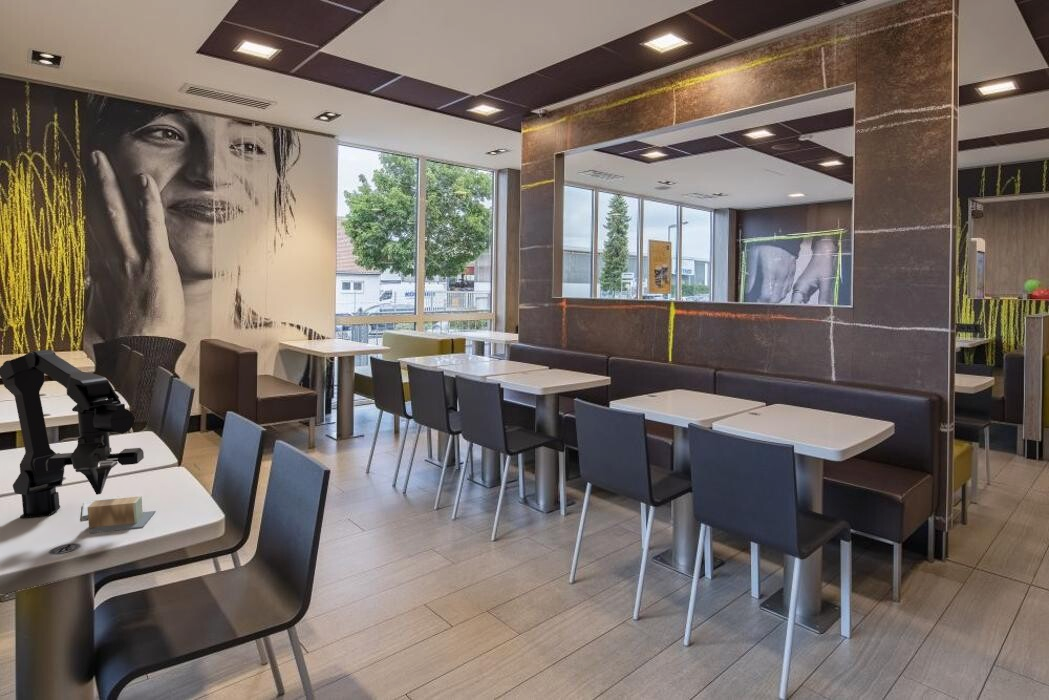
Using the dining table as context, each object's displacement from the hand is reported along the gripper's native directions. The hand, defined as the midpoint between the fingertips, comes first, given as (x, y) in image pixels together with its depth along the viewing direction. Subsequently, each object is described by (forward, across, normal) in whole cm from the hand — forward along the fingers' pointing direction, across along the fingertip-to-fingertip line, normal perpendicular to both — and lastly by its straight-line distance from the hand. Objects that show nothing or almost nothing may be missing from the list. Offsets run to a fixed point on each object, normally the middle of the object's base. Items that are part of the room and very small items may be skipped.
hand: (99, 493), depth 150 cm
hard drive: (+8, -4, +12) cm, 15 cm away
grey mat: (+8, +5, 0) cm, 9 cm away
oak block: (+5, -2, 0) cm, 5 cm away
